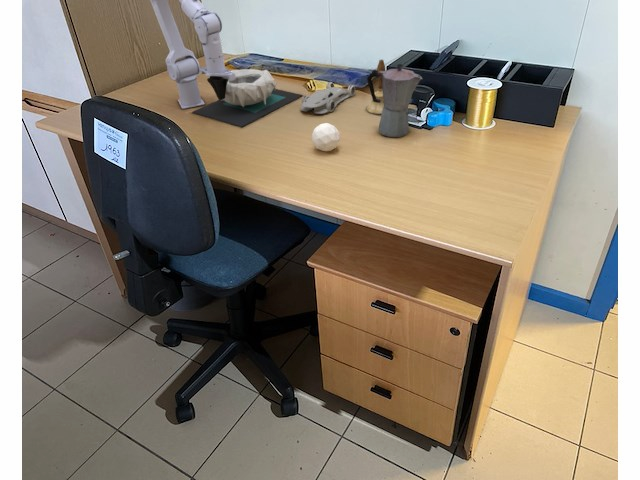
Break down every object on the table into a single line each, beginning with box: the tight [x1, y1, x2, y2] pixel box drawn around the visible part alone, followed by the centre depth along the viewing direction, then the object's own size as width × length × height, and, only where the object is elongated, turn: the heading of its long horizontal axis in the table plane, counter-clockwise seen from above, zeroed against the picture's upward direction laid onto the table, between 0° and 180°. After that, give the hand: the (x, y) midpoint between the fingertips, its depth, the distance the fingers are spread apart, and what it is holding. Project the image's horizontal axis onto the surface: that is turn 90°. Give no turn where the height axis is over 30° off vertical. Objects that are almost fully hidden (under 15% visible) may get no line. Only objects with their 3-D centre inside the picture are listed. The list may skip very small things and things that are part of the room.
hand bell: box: [366, 59, 386, 115], centre depth 153 cm, size 8×8×16 cm
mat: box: [191, 88, 304, 128], centre depth 168 cm, size 31×24×1 cm
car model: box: [300, 81, 356, 115], centre depth 163 cm, size 11×24×5 cm, turn 148°
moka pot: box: [366, 63, 423, 138], centre depth 138 cm, size 10×15×20 cm, turn 78°
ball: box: [311, 122, 341, 152], centre depth 135 cm, size 8×8×8 cm
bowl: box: [221, 68, 277, 107], centre depth 165 cm, size 21×20×10 cm
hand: (221, 98), depth 157 cm, fingers closed
